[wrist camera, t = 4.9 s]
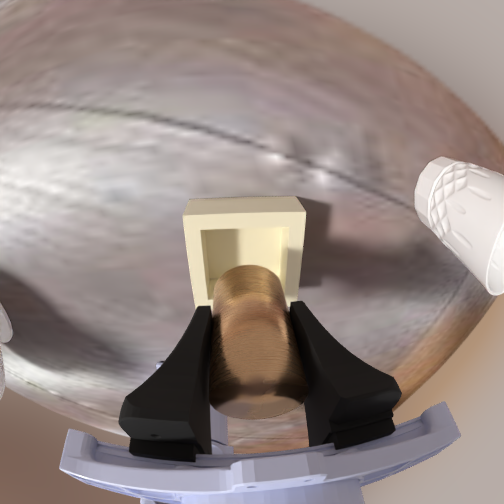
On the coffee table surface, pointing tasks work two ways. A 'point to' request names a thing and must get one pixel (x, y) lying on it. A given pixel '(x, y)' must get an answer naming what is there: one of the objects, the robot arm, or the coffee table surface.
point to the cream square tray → (243, 240)
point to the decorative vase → (3, 333)
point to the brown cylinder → (253, 347)
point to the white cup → (466, 215)
